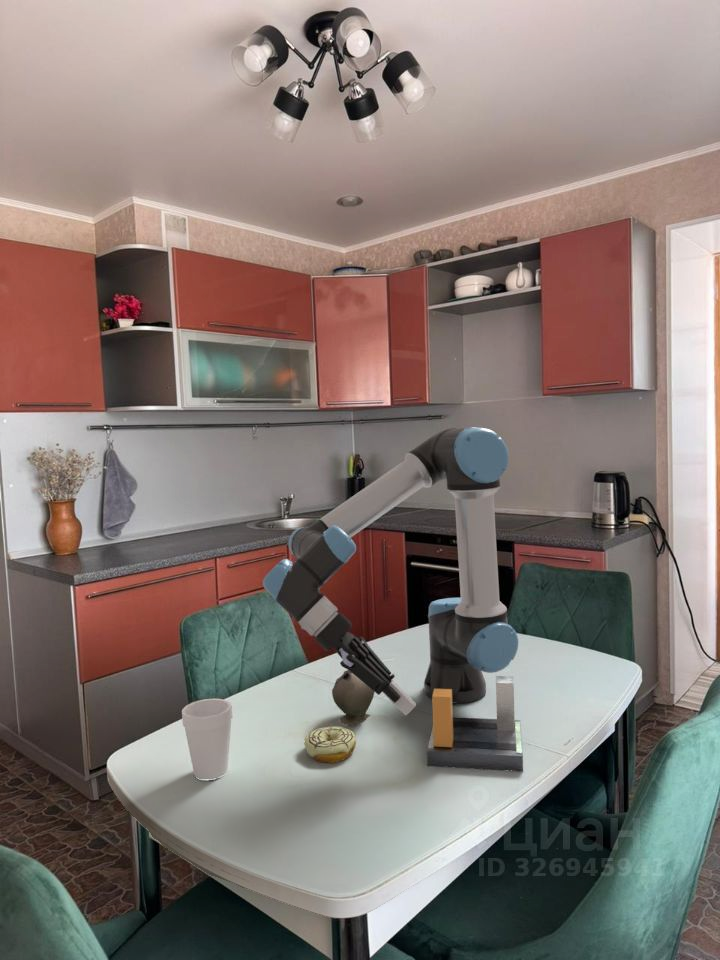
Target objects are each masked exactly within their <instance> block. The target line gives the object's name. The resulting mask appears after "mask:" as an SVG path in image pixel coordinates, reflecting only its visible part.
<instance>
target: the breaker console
mask: <svg viewBox="0 0 720 960" xmlns="http://www.w3.org/2000/svg"><path fill="white" fill-rule="evenodd" d="M514 685H515V684H514V676H513V675H495V699H496V700H495V701H496V702H495V703H496V719H495V718H480V717H479V718H478V717H457V716H456V717H453V744H452V747H437V746H434V732H433V725H432V727H431V732H430V737H429V741H428V745H427V749H426V760H427V761H426V763H427V764H426V766H427V767H435V766H436V767H437V768H438V766H439V768H452V767H455V769H469V770H475V769H476V770H487V771H489V770H490V771H503V770H509V772H520V771H523V772H524V758H523V757H524V756H523V755H524V754H523V740H522V726H521V725H522V724H521V719H515V693H514V692H515V689H514ZM470 768H471V769H470ZM488 769H489V770H488ZM511 770H512V771H511Z"/></svg>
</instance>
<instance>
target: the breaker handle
mask: <svg viewBox="0 0 720 960" xmlns="http://www.w3.org/2000/svg"><path fill="white" fill-rule="evenodd" d="M431 701H432V721H433V722H432V726H433V732H434V746H437V747H452V744H453V714H454V712H453V703H452V689H434V691H433V695H432V699H431Z"/></svg>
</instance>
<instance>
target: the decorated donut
mask: <svg viewBox="0 0 720 960" xmlns="http://www.w3.org/2000/svg"><path fill="white" fill-rule="evenodd" d="M303 743H304V748H305V750H306V753H307V755H309V756H310V757H311V758H312V759H315V760H316V761H317V762H322V763H332V764H336V763H338V762H342V761H343V760H347V759H348V758H349V757H350V756H351V755H352V754H353V752H354V750H355V749H356V746H357V745H356V744H357V740H356V735H355V733H354V732H353V731H352V730H350V729H348V728H345V727H342V726H334V725H333V726H325V727H321V728H320V727H319V728H316V729H313V730H312V731H310V732H309V733H308V734H307V735H306V736H305V737H304V742H303Z"/></svg>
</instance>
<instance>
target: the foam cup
mask: <svg viewBox="0 0 720 960" xmlns="http://www.w3.org/2000/svg"><path fill="white" fill-rule="evenodd" d="M181 717H182V719H181V720H182V726H183V727H184V730H185V736H186V740H187V745H188V750H189V751H188V752H189V755H190V756H189V757H190V760H191V761H190V762H191V765H192V770H193V776H194V775H195V776H196V777H197V778H199V779H214V778H218V777H220V776H222V775H224V774H225V773H226V771H227V772H228V769H229V758H230V757H229V756H230V742H231V728H232V727H231V726H232V719H233V706H232V702H230V701H229V700H227V699H224V698H223V699H222V698H207V699H201V700H196V701H192V702H190V703H189V704H186V705H185V706H184V707H183V708H182V710H181ZM226 774H227V773H226ZM195 776H194V777H195Z"/></svg>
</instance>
